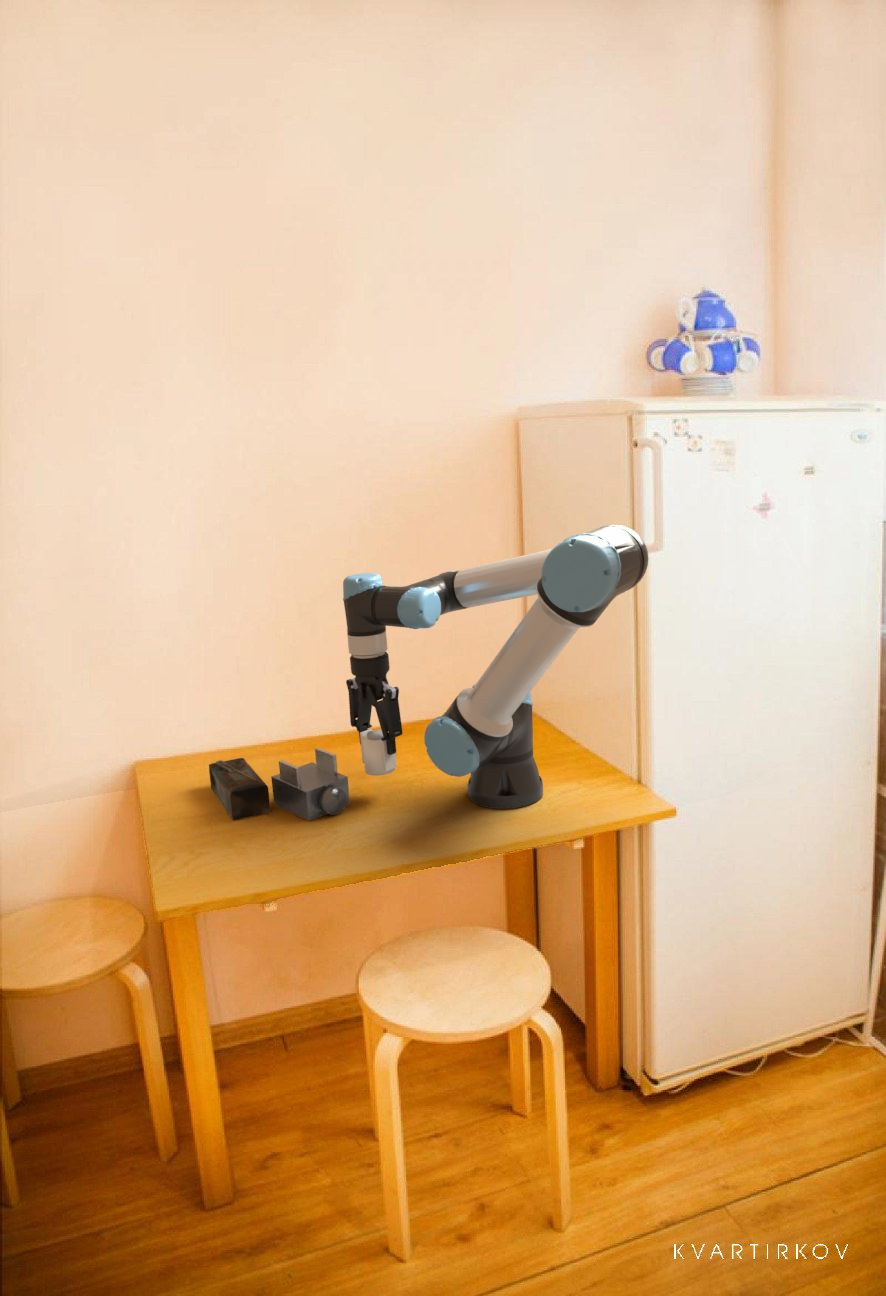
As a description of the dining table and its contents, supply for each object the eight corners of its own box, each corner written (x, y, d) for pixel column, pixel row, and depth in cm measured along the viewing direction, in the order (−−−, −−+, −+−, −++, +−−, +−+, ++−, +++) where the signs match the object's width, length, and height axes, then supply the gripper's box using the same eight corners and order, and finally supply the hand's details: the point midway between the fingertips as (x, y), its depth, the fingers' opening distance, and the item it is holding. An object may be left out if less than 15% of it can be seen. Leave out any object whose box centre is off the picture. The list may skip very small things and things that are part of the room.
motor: (357, 807, 195) (353, 760, 193) (316, 824, 189) (311, 776, 186) (314, 789, 206) (310, 744, 203) (274, 804, 199) (269, 758, 196)
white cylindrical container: (401, 768, 197) (398, 731, 196) (378, 777, 193) (375, 740, 192) (381, 762, 202) (378, 726, 200) (359, 771, 198) (355, 734, 196)
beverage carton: (247, 781, 212) (244, 753, 210) (272, 814, 195) (269, 783, 193) (210, 789, 209) (206, 760, 207) (232, 823, 192) (229, 792, 190)
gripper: (415, 655, 187) (425, 769, 193) (354, 642, 201) (364, 749, 206) (385, 664, 182) (395, 781, 188) (324, 651, 196) (336, 760, 202)
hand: (379, 764), depth 197 cm, fingers closed on white cylindrical container, 6 cm apart
